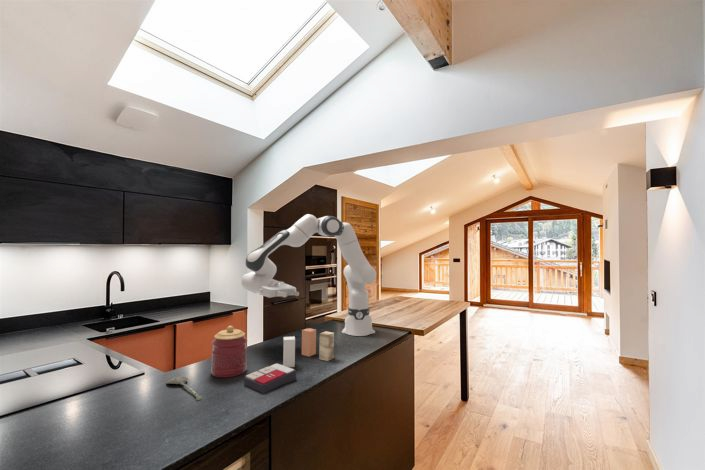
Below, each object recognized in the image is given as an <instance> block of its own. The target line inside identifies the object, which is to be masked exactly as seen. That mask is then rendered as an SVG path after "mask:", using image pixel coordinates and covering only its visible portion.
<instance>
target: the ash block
mask: <svg viewBox="0 0 705 470" xmlns="http://www.w3.org/2000/svg"><path fill="white" fill-rule="evenodd" d="M318 347H319V351H318V353H319V356H318V358H319V360H321V361H322V360H323V361H326V362H329V361H330V360H333V359H334V355H335V332H331V331H323V332H320V333H319V345H318Z"/></svg>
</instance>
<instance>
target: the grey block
mask: <svg viewBox="0 0 705 470" xmlns="http://www.w3.org/2000/svg"><path fill="white" fill-rule="evenodd" d="M282 348H283V350H282V351H283V354H282V356H283V357H282V359H283V360H282V365H283V366H286V367H289V368H295V367H296V366H295V365H296V361H295V360H296V337H295V335H293V336H283V347H282Z"/></svg>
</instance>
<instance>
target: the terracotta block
mask: <svg viewBox="0 0 705 470" xmlns="http://www.w3.org/2000/svg"><path fill="white" fill-rule="evenodd" d="M316 349H317V329H316V328H315V329H314V328H310V327H308V328H305V329H301V355H302V356H306V357H312V356H314V355H317V352H316V351H317V350H316Z"/></svg>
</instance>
